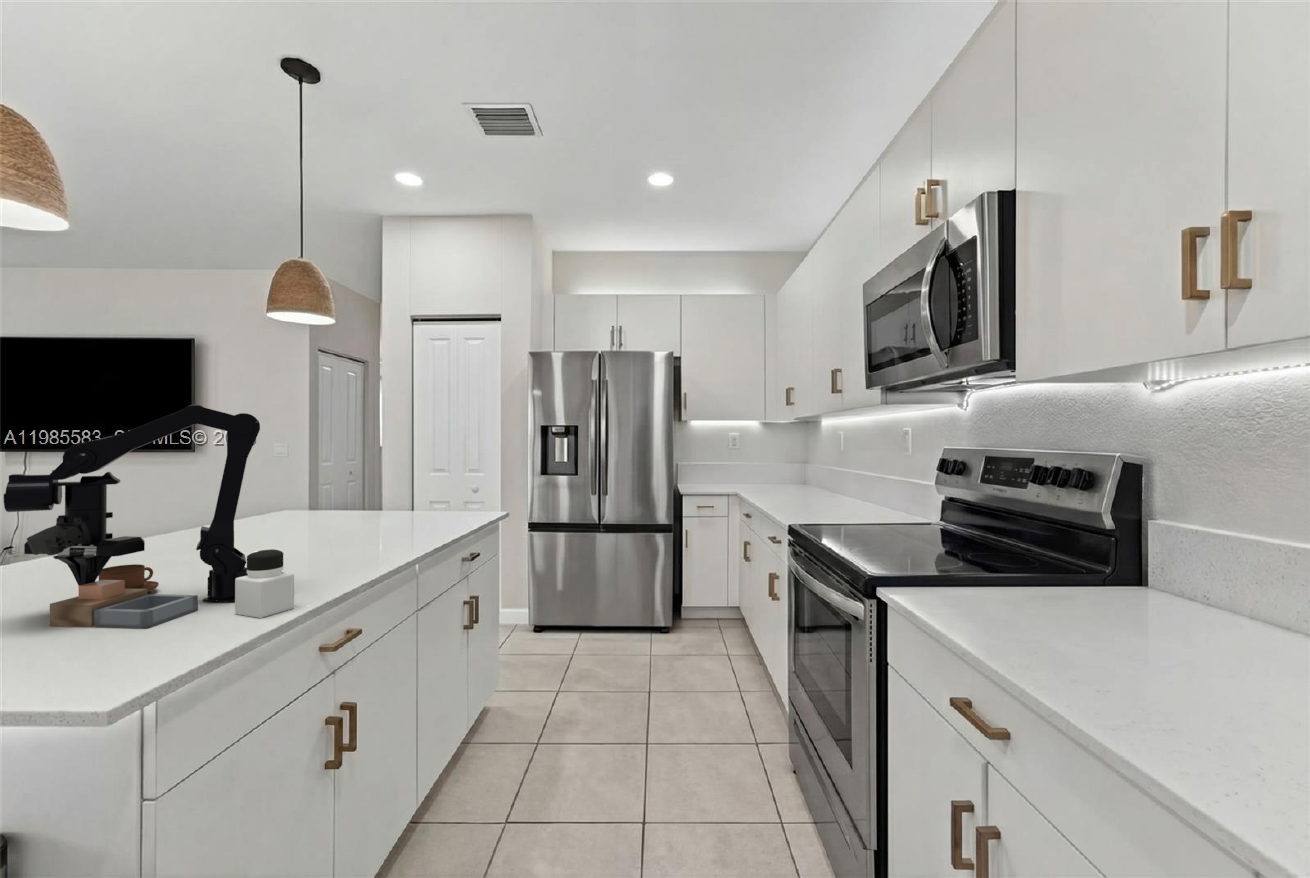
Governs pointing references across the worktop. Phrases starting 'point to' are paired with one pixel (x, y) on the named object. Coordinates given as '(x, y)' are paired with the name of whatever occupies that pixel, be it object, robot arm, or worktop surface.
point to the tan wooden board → (86, 608)
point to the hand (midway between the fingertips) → (85, 590)
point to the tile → (101, 589)
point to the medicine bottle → (264, 586)
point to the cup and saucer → (130, 576)
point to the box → (145, 611)
